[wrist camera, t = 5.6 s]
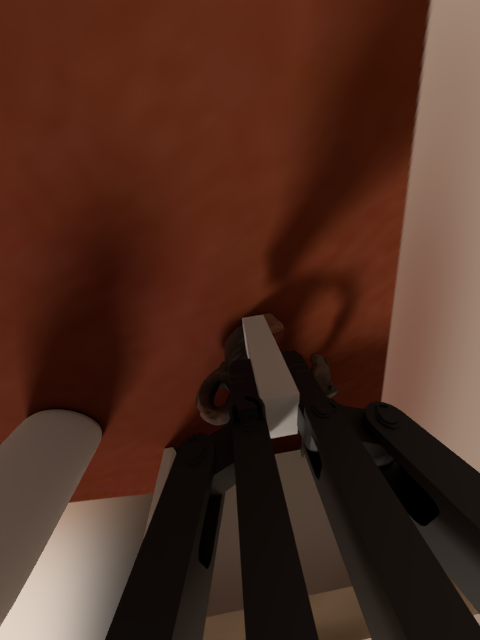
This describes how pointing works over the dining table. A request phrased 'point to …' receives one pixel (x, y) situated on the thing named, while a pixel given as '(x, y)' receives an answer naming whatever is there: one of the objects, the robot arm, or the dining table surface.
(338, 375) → the dining table surface
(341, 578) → the small wooden bench
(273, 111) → the dining table surface
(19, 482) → the milk bottle
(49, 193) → the dining table surface
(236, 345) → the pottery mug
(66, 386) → the dining table surface
